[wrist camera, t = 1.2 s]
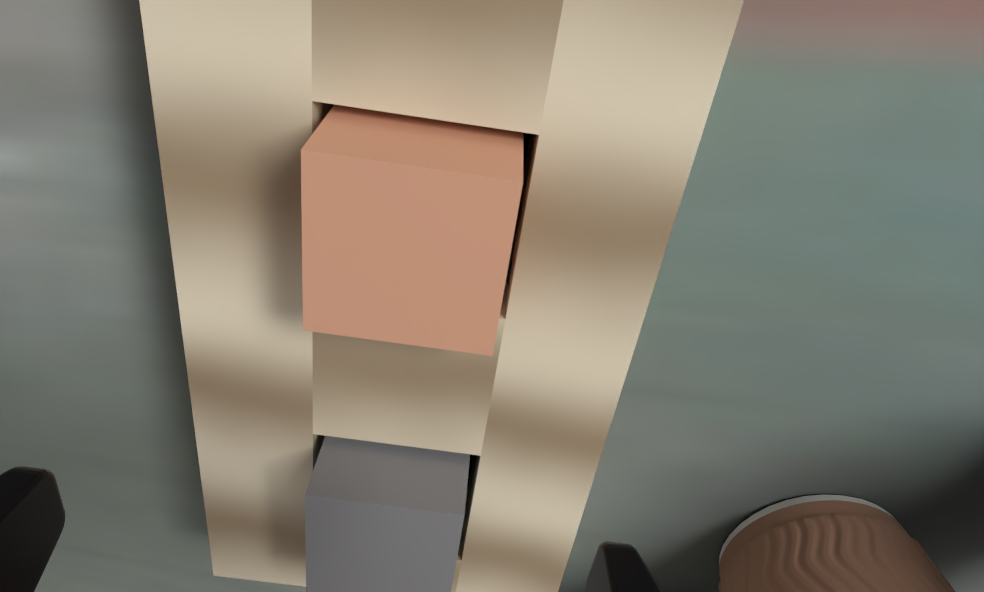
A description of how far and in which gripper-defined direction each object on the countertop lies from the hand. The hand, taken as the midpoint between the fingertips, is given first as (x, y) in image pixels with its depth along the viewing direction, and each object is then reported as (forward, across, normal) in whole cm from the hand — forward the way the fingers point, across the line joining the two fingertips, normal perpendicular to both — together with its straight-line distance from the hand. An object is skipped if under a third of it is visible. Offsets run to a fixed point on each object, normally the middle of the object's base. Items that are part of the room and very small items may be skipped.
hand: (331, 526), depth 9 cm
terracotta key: (+11, 0, 0) cm, 11 cm away
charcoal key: (+10, 0, +10) cm, 15 cm away
